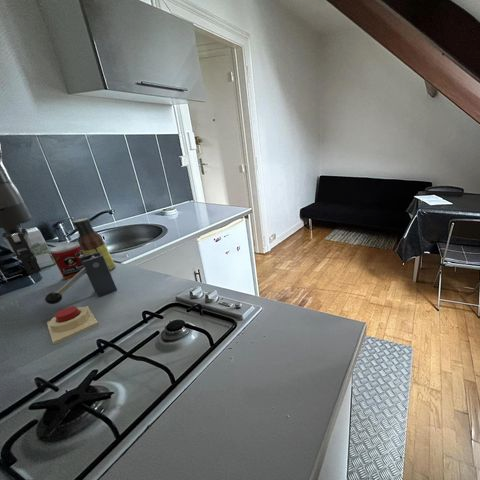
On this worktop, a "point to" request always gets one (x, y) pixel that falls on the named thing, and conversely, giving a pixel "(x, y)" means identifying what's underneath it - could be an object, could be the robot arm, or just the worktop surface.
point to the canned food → (68, 258)
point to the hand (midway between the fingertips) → (33, 267)
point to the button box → (71, 325)
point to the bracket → (98, 274)
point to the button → (67, 314)
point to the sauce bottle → (92, 241)
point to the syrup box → (40, 248)
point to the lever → (64, 288)
